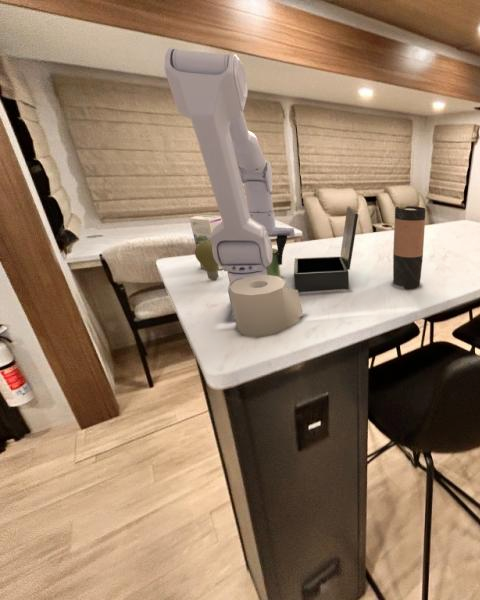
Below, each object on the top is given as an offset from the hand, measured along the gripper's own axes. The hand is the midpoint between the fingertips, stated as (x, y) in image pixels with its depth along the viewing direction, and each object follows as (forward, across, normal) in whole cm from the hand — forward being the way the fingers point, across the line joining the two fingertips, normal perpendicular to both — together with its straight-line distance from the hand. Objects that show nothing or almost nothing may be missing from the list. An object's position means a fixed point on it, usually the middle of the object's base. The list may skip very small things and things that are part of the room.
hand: (268, 264), depth 81 cm
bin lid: (-8, -20, +6) cm, 23 cm away
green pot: (+3, 0, 0) cm, 3 cm away
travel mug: (+4, -35, +11) cm, 37 cm away
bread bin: (+4, -13, +6) cm, 15 cm away
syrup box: (+4, +16, -14) cm, 22 cm away
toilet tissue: (+4, -2, +26) cm, 27 cm away
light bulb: (+4, +14, -2) cm, 15 cm away
